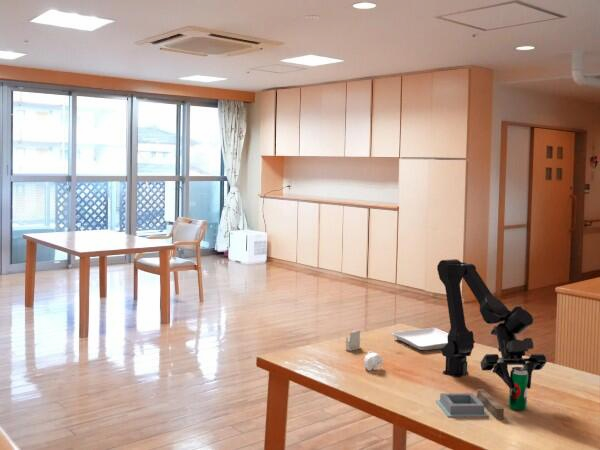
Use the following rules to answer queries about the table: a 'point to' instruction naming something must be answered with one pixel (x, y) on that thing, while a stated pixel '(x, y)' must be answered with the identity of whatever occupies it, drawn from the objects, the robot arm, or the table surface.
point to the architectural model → (353, 341)
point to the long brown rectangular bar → (490, 404)
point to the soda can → (518, 388)
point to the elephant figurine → (372, 361)
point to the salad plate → (424, 338)
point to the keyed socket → (461, 405)
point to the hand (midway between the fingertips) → (520, 388)
